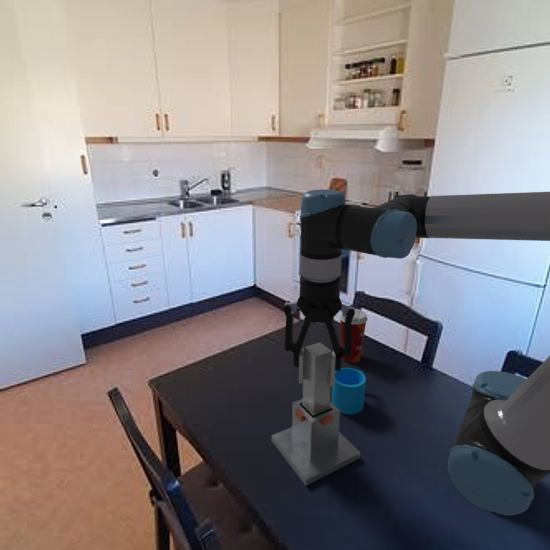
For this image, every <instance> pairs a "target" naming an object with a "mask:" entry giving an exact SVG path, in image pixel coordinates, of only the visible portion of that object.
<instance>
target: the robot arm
mask: <svg viewBox="0 0 550 550" xmlns="http://www.w3.org/2000/svg"><path fill="white" fill-rule="evenodd" d="M299 219H300V252H299V273H300V276H299V297H298V299H297V300H295V301H290V300H286V301H285V304H284V305H283V312H284V315H285V317H286V318H285V330H284V331H285V333H284V334H285V335H284V350H285V351H286V352H292V354H293V366H294V367H295V368H298V384H303V371H304V348H302V347H303V344H304V342H305V339H306V336H307V333H308V331H309V328H310V326H311V323H321V324H325V326H326V329H327V331H328V335H329V339H330V343H331V346H332V348H333V350H331V351H332V358H331V380H330V387H331V388H332V387H334V380H335V371H340V370H341V368H342V357H343V356H350V355H351V322H352V319H353V317H354V315H355V309H356V307H355V305H353V304H350V305H347V304H344V303H342V302H343V301H342V300H341V297H340V296H341V277H340V276H341V274H342V258H343V257H342V256H343V250H346V251H351V252H357V253H361V254H366V255H372V256H378V257H379V258H385V259H387V258H389V259H399V260H400V259H401V260H402V259H404V258H407V257H408V256H409V255H410V253H411V251H412V249H413V248H414V245H415V241H416V239H454V240H455V239H456V240H457V239H458V240H460V239H461V240H495V241H496V240H497V241H501V240H502V241H534V242H535V241H539V242H550V191H534V192H533V191H532V192H531V191H530V192H529V191H527V192H507V193H504V192H503V193H501V192H500V193H480V194H479V193H477V194H476V193H474V194H473V193H471V194H449V195H431V196H429V195H427V196H426V195H423V196H422V195H421V196H419V195H417V194H414V193H413V194H412V193H410V194H400V195H398V196H396V197H394V198H393V199H390V200H388V201H386V202H384V203H382V204H379V205H377V206H375V207H368V206H367V207H366V206H357V205H356V206H355V205H350V204H346V198H345V194H344V192H342V191H341V190H336V189H328V188H327V189H312V190H308V191H306V192H304V193H303V195H302V196H301V205H300V215H299ZM297 309H298V310H299V311H300V312H301V314H302V315H303V316H304V320H303V322H302V325H301V327H300V331H299V333H298V337H297V339H296V341H295V342H293V336H294V319H295V314H296V311H297ZM340 311H341V312H342V315H343V317H345V346H344V347H341V340H340V338H339V334H338V329H337V328H336V324H335V317H336V316H337V315H338V313H339V312H340ZM447 461H448V462H447V473H448V474H449V476H450V480H451V483H453V485H454V487H455V488H456V489H457V490H458V492H459V493H460V494H462V496H463V497H464V498H466V499H467V500H468V501H470V502H471V503H472V504H474V505H476V506H477V507H479V508H481V509H483V510H485V511H488V512H489V513H491V512H493V513H496V514H497V515H503V516H516V515H521V514H522V513H524V512H526V511H527V510H528V509H529V508H530V506H531V503H532V502H533V501H534V497H535V492H534V491H535V486H537V484H538V483H539V482H540V481H541V480H542V479H545V477H547V476H548V475H549V474H550V355H548V357H547V358H546V359H545V360H544V361H543V362H542V363H541V364H540V365H539V366H538V367H537V368H536V369H535V370H534V371H533V372H532V373H531V374H530V375H529V376H528V377H527V378H525V377H523V376H520V375H517V374H514V373H510V372H506V371H500V370H498V371H497V370H486V371H482V372H480V373H478V374H477V375H476V377H475V379H474V382H473V383H472V393H471V397H470V401H469V404H468V406H467V409H466V411H465V414H464V417H463V420H462V423H461V425H460V427H459V430H458V433H457V434H456V437H455V440H454V443H453V446H452V447H451V448H450V450H449V453H448V460H447Z"/></svg>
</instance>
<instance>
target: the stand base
mask: <svg viewBox="0 0 550 550" xmlns="http://www.w3.org/2000/svg"><path fill="white" fill-rule="evenodd" d="M302 403H303V398H301V399H298V400H295V401H293V402H292V404H291V405H292V409H291V410H292V411H291V412H292V413H291V414H292V416H291V420H292V421H291V422H292V423H291V427H288V428H287V429H284V430H282V431H281V430H280V431H279V432H277V433H274V434H272V435H271V438H270V439H271V443H272V444H273V445H274V446H275V448H277V450H278V452H279V453H280V454H281V455H282V457H283V458H284V460H285V461H286V462H287V463H288V465H289V466H290V467H291V468H292V470H293V471H294V472H295V474H296V475H297V477H298V478H299V479H300V481H302V483H303V484H304V486H306V487H307V486H309V485H310V484H313V483H314V482H316V481H319V480H321V479H322V478H324V477H326V476H329V475H330V474H332V473H334V472H335V471H338V470H339V469H342V468H344V467H345V466H348V465H350V464H351V463H354V462H355V461H358V460H360V458H361V452H360V451H359V450H358V449H357V448H356V447H355V446H354V444H353V443H351V442H350V441H349V440H348V439H347V438H346V436H344V435H343V434H342V433H341V432H340V422H341V421H340V420H341V419H340V418H341V413H340V410H339V409H338V408H337V407H335V406H334V405H333V404H332V401H330V405H329V407H330V411H329V412H327V413H324V414H322V415H320V416H317V417H315V418H312V417H311V416H310V415H309V414H308V413H307V412H306V411H305V410H304V409H303V408H302Z"/></svg>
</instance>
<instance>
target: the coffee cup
mask: <svg viewBox="0 0 550 550" xmlns="http://www.w3.org/2000/svg"><path fill="white" fill-rule="evenodd" d="M339 320H340V321H339V322H340V326H339V327H340V329H339V331H340V338H339V339H340V344H341V347H344V346H345V317H343V315H342V311H341V312H340V314H339ZM367 321H368V317H367V313H366V312H365V311H364V310H361V309H358V308H355V315H354V317H353V319H352V322H351V355H350V356H343V357H342V358H341V361H344V362H347V363H350V364H351V363H357V362H360V360H361V357H362V351H363V347H364V345H363V344H364V339H365V332H366V331H365V330H366V325H367Z"/></svg>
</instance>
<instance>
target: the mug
mask: <svg viewBox="0 0 550 550" xmlns="http://www.w3.org/2000/svg"><path fill="white" fill-rule="evenodd" d="M366 379H367V377H366V373H365V372H364V371H362V370H359V369H356V368H353V367H352V368H351V367H341V370H340V371H335V380H334V387H332V386H331V403H332V404H333V405H334V406H335V407H337V408H338V409H339V410H340V414H343V415H349V416H350V415H356V414H359V413H361V412H362V411H363V409H364V405H365V394H366V391H365V390H366V384H367V383H366Z"/></svg>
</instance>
